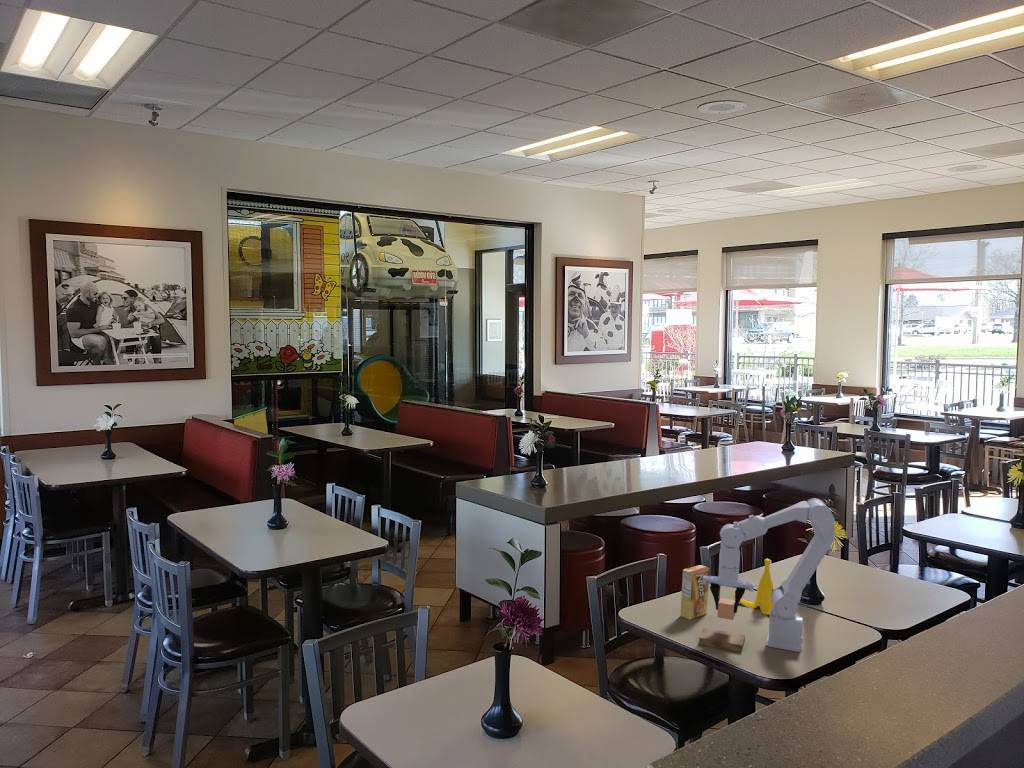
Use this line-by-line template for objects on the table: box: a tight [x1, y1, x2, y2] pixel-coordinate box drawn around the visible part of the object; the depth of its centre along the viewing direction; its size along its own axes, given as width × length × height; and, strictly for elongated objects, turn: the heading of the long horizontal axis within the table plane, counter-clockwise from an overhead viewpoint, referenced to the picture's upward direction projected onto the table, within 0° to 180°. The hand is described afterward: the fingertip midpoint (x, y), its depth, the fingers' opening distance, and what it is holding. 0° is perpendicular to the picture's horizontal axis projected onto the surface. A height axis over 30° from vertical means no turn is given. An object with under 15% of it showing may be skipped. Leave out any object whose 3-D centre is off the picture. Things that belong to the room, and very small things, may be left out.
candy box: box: [679, 564, 711, 620], centre depth 245 cm, size 9×4×15 cm, turn 129°
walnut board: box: [698, 627, 746, 653], centre depth 225 cm, size 12×8×2 cm, turn 68°
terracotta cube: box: [716, 597, 736, 621], centre depth 228 cm, size 4×4×4 cm
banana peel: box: [731, 558, 775, 616], centre depth 254 cm, size 17×19×17 cm
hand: (726, 610), depth 228 cm, fingers closed on terracotta cube, 4 cm apart
